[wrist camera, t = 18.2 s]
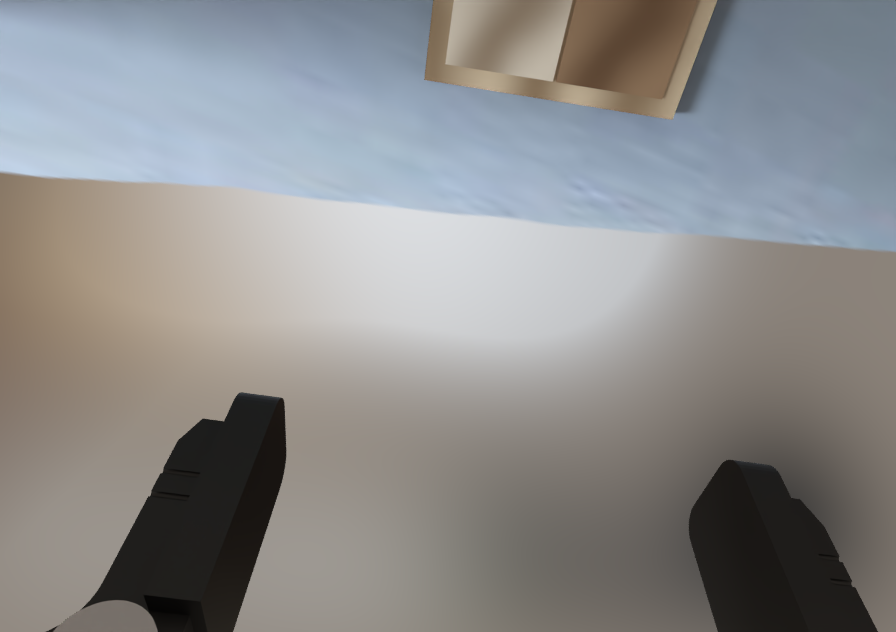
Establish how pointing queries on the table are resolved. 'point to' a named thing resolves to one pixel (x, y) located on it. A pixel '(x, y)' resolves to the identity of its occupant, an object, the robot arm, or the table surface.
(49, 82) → the table surface
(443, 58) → the board
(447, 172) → the table surface
